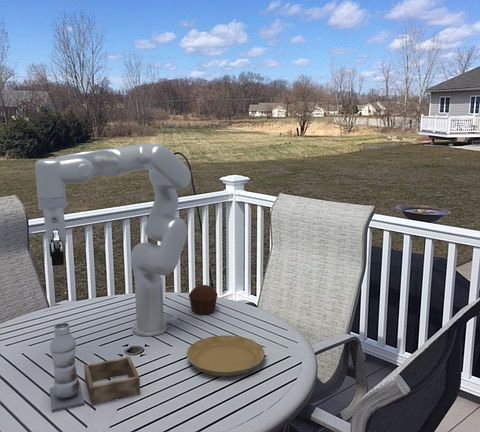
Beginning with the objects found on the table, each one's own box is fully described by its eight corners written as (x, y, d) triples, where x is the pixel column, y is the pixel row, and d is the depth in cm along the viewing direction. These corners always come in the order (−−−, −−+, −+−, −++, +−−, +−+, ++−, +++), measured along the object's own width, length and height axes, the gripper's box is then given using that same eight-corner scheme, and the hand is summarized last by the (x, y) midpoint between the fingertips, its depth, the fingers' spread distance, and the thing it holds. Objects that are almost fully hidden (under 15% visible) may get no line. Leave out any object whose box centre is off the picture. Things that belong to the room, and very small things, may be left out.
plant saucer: (227, 337, 167) (227, 328, 166) (280, 361, 150) (280, 351, 149) (171, 361, 150) (170, 351, 150) (223, 391, 133) (223, 380, 133)
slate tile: (80, 384, 137) (79, 381, 136) (84, 404, 127) (84, 402, 127) (49, 390, 133) (49, 388, 133) (52, 412, 123) (51, 409, 123)
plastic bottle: (85, 390, 132) (80, 322, 128) (68, 404, 126) (63, 332, 122) (65, 386, 134) (60, 319, 130) (48, 399, 128) (42, 329, 124)
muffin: (189, 305, 194) (188, 282, 192) (216, 304, 195) (216, 281, 193) (189, 317, 182) (188, 292, 180) (218, 316, 184) (218, 291, 182)
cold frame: (130, 371, 143) (129, 356, 142) (140, 394, 132) (139, 377, 131) (85, 381, 138) (84, 365, 137) (91, 405, 126) (89, 388, 125)
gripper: (69, 206, 131) (73, 267, 134) (63, 197, 146) (68, 251, 150) (39, 209, 128) (44, 270, 131) (37, 199, 143) (41, 254, 147)
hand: (56, 260), depth 140 cm, fingers open, 9 cm apart
